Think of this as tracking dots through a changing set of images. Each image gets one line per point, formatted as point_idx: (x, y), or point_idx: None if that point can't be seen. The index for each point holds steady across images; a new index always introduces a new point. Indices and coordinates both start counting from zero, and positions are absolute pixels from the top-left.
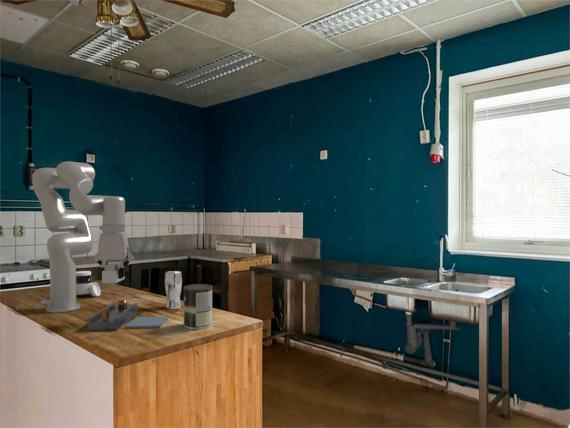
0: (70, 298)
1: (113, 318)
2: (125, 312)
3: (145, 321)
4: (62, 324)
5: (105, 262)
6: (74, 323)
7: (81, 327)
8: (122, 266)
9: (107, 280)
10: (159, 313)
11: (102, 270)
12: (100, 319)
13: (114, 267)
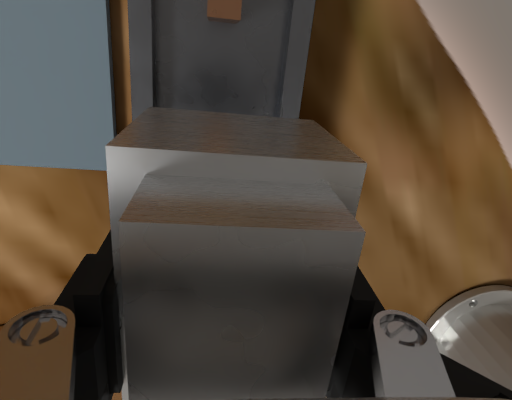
0: (480, 354)
1: (184, 28)
2: (131, 96)
3: (21, 72)
4: (447, 112)
5: (385, 390)
6: (397, 123)
7: (351, 44)
8: (39, 332)
9: (255, 122)
10: (37, 256)
11: (377, 298)
12: (256, 13)
13: (137, 200)
